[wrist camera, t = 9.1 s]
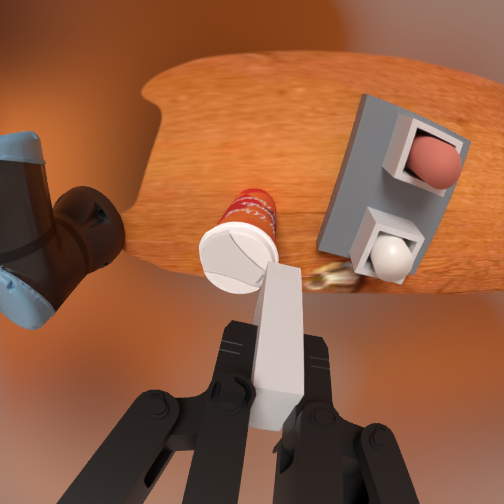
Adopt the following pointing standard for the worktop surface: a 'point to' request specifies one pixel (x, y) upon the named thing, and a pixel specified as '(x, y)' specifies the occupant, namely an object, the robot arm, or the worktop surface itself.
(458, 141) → the board
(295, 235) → the worktop surface
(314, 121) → the worktop surface
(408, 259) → the plug
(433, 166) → the red plug
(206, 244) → the coffee cup
